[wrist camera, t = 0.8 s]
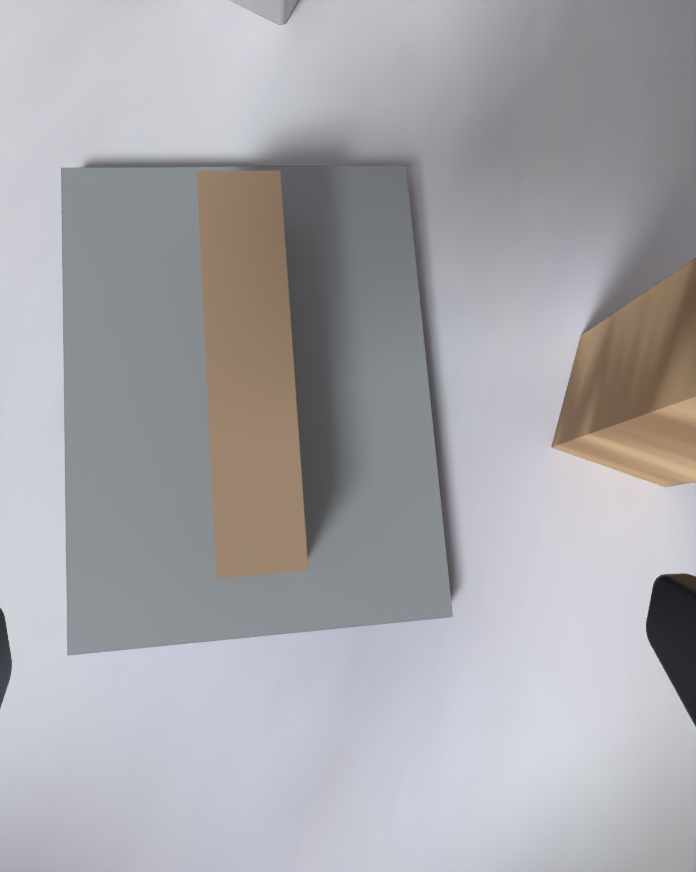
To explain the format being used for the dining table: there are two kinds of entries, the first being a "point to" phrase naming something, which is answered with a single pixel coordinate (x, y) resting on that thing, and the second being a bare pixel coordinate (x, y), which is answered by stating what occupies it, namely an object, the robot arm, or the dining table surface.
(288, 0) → the lighter
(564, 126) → the dining table surface
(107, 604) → the ridge stand
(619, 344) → the oak block
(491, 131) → the dining table surface
